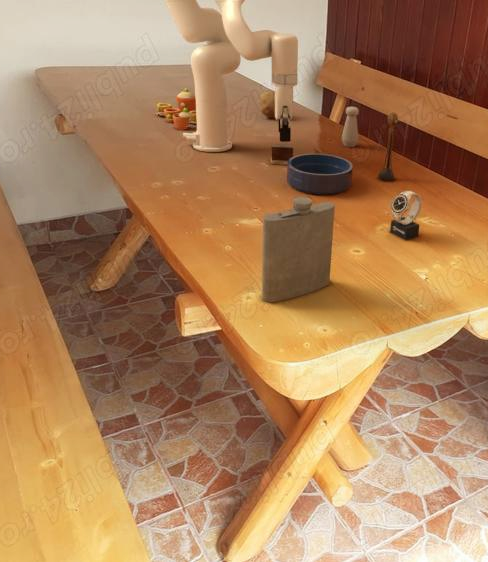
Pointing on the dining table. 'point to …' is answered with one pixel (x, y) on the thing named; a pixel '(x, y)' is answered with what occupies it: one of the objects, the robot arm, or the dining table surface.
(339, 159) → the bowl
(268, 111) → the natural sponge
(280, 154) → the eraser
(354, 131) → the salt shaker
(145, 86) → the dining table surface
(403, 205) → the watch
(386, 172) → the wooden tabletop sculpture
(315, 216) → the hip flask
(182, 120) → the toy tea set
